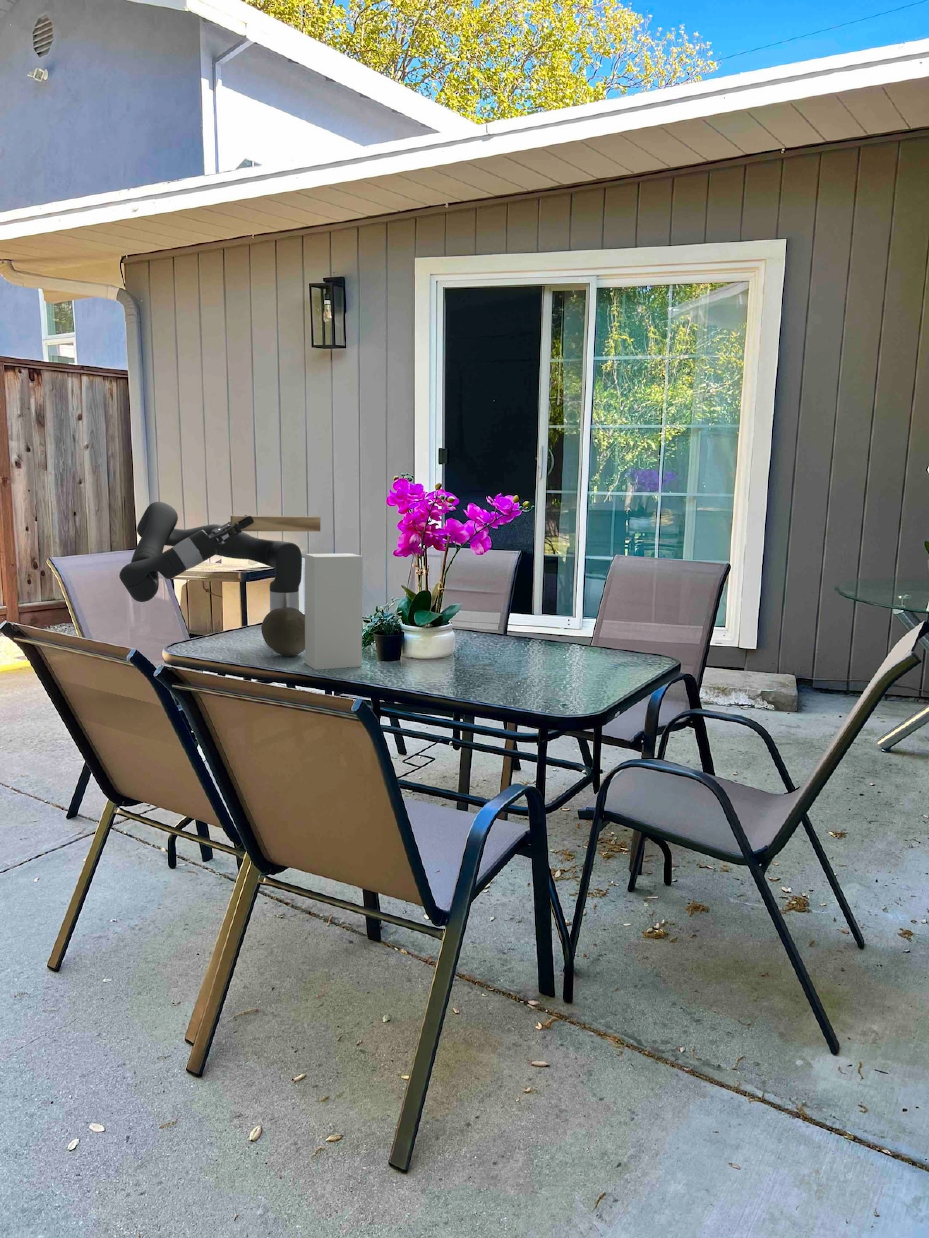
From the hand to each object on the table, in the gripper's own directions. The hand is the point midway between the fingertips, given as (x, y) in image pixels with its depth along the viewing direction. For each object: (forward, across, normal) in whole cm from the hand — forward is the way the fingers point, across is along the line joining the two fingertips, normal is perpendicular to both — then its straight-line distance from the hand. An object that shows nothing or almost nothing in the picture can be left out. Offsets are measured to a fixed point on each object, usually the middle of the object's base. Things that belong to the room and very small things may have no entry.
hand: (250, 518), depth 239 cm
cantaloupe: (-9, -16, -44) cm, 48 cm away
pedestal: (-1, 0, -48) cm, 48 cm away
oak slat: (+4, 0, -6) cm, 8 cm away
